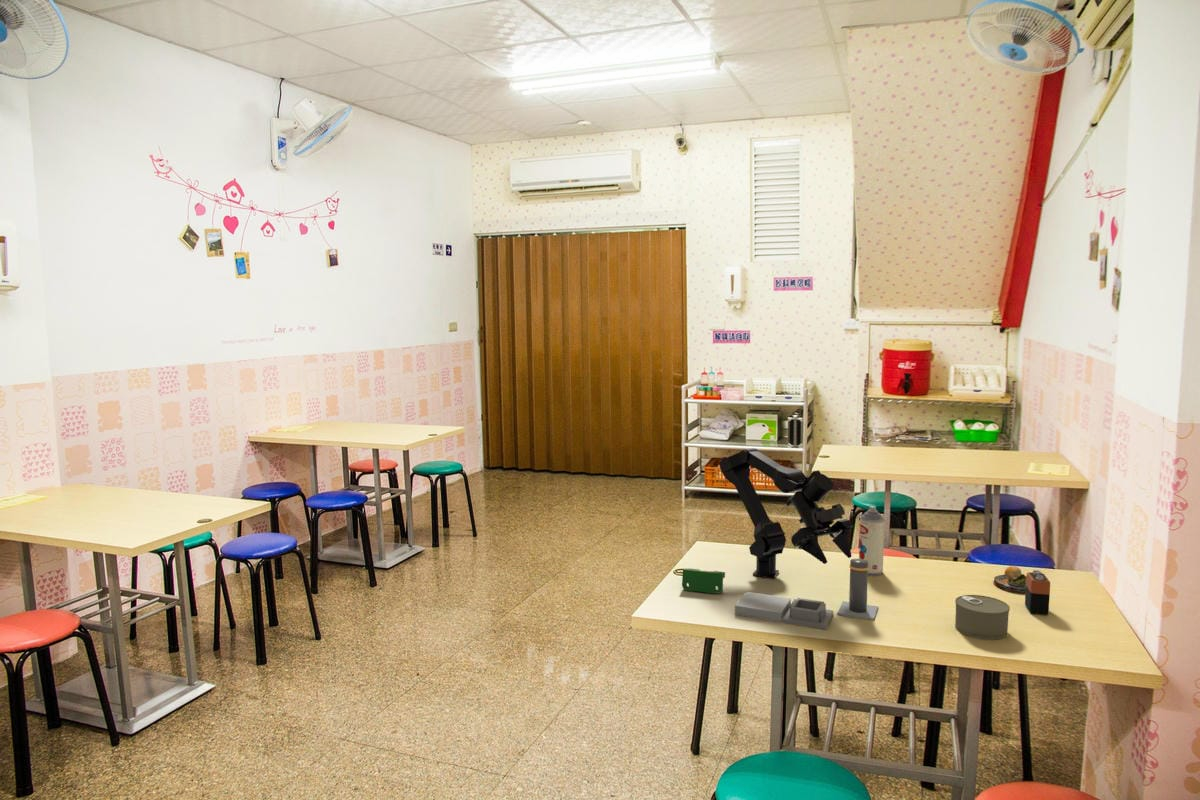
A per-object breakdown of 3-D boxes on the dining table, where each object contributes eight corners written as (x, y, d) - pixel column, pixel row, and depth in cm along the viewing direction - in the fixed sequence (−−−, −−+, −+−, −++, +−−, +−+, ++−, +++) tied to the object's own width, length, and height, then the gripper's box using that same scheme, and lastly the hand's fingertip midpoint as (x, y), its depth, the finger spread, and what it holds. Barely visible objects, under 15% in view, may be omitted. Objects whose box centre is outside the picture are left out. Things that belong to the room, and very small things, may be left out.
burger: (1044, 596, 216) (1045, 570, 216) (996, 592, 221) (997, 566, 220) (1036, 582, 228) (1037, 557, 227) (991, 578, 232) (992, 553, 231)
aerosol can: (855, 568, 241) (857, 503, 238) (878, 567, 241) (880, 503, 238) (863, 575, 234) (865, 509, 232) (886, 575, 234) (888, 509, 232)
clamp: (717, 603, 225) (731, 575, 225) (713, 606, 219) (727, 576, 219) (680, 582, 229) (694, 554, 229) (675, 584, 224) (689, 555, 223)
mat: (842, 602, 213) (842, 601, 212) (878, 608, 209) (878, 606, 209) (837, 614, 204) (837, 612, 204) (873, 620, 201) (873, 618, 201)
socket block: (746, 600, 215) (746, 588, 214) (833, 614, 205) (833, 601, 205) (734, 614, 205) (735, 601, 205) (825, 629, 195) (826, 615, 195)
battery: (1042, 606, 209) (1044, 570, 208) (1048, 616, 202) (1051, 578, 201) (1024, 604, 210) (1026, 568, 209) (1029, 614, 204) (1032, 576, 203)
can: (983, 644, 186) (985, 616, 185) (943, 625, 197) (944, 599, 196) (1019, 635, 191) (1021, 608, 190) (978, 617, 202) (979, 591, 201)
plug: (846, 606, 209) (847, 558, 207) (863, 606, 209) (865, 558, 207) (851, 613, 204) (852, 564, 203) (869, 612, 204) (871, 564, 203)
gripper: (800, 499, 209) (830, 550, 201) (849, 490, 218) (880, 539, 210) (778, 521, 216) (806, 571, 208) (826, 511, 226) (855, 559, 218)
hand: (838, 560), depth 211 cm, fingers open, 9 cm apart
